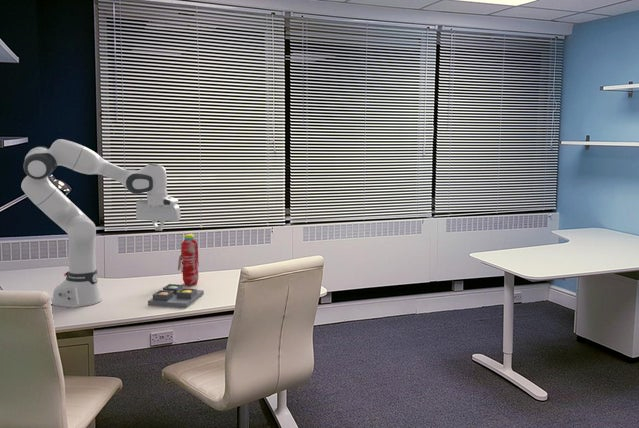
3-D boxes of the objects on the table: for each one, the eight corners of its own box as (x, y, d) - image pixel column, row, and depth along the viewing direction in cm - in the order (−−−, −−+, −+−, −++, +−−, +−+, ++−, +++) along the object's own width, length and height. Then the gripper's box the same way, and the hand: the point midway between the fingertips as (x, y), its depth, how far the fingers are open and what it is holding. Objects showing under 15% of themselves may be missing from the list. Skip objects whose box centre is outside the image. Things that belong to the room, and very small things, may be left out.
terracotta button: (156, 299, 262) (156, 294, 261) (161, 296, 266) (160, 291, 266) (165, 299, 261) (165, 295, 261) (170, 296, 265) (170, 292, 265)
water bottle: (173, 284, 291) (171, 235, 287) (181, 280, 299) (180, 231, 295) (194, 287, 288) (193, 236, 283) (202, 282, 295) (201, 233, 291)
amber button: (180, 296, 265) (180, 292, 265) (184, 294, 269) (184, 289, 269) (189, 297, 264) (189, 293, 264) (193, 294, 269) (193, 290, 268)
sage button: (166, 292, 272) (166, 288, 271) (170, 289, 276) (170, 285, 275) (175, 293, 271) (175, 288, 270) (179, 290, 275) (179, 286, 275)
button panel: (148, 305, 260) (147, 295, 259) (167, 292, 279) (167, 282, 279) (186, 307, 257) (186, 298, 256) (203, 294, 276) (203, 285, 275)
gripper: (132, 200, 264) (134, 230, 266) (175, 201, 260) (176, 232, 263) (139, 198, 270) (140, 228, 272) (181, 199, 266) (182, 229, 269)
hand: (158, 230), depth 267 cm, fingers closed
